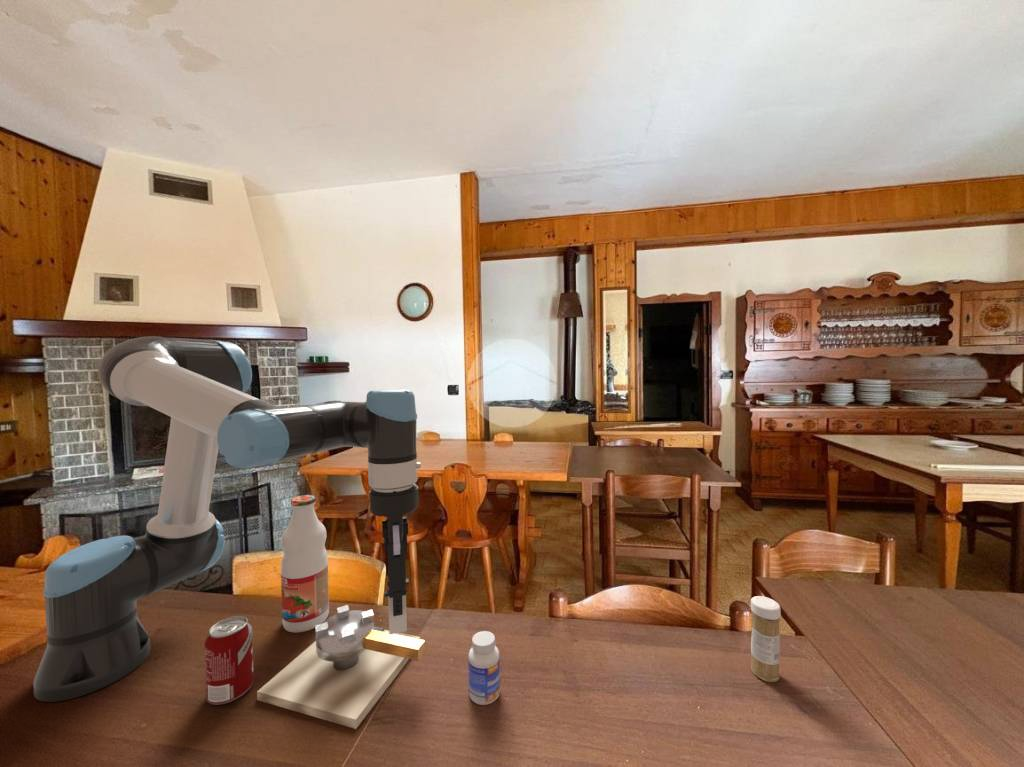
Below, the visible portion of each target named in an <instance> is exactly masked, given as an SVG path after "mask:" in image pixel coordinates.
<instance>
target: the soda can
mask: <svg viewBox="0 0 1024 767" xmlns="http://www.w3.org/2000/svg"><path fill="white" fill-rule="evenodd" d="M253 646H254V643H253V627H252V625H251V624H250V623H249V621H248V618H247V616H243V615H234V616H230V617H227V618H225V619H222V620H219V621H218V622H216V623H215V624H214V625H212V626H211V627H210V629H209V631H208V636H207V637H206V639H205V641H204V667H205V668H204V670H205V692H206V693H205V695H206V701H207V702H208V703H209V704H210V705H214V706H218V705H225V704H229V703H232V702H234V701H236V700H237V699H239V698H241V697H242V696H244V695H245V694H246V693H247V692H248V691H249V690H250V689H251V688H252V686H253V685H254V681H255V679H254V678H255V677H254V676H255V675H254V673H255V672H254V650H253V649H254V647H253Z"/></svg>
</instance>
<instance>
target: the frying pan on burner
mask: <svg viewBox="0 0 1024 767" xmlns="http://www.w3.org/2000/svg"><path fill="white" fill-rule="evenodd" d="M336 612H337V613H336V614H333V615H331V616H330V617H327V619H326V620H325V621H324V622H323V623H322V624H319V625H315V628H314V629H315V641H316V653H317V655H318V657H319V658H321V659H323V660H325V661H332V662H334V661H343V660H347V659H350V658H352V657H355V656H357V655H359V654H360V653H362V652H363V651H365V650H366V649H368V650H372V651H376V652H381V653H385V654H390V655H394V656H399V657H403V658H408V659H409V660H412V661H419V660H420V659H421V657H423V655H424V654H425V652H426V640H424V639H421V638H420V639H415V638H411V637H406V636H401V635H396V634H391V635H389V633H386V632H381V631H377V630H374V626H375V614H374V611H373V609H368V610H360V609H358V610H353V609H352V610H350V607H349V605H348V604H346V605H343V606H342V605H341V606H339V607H337V608H336Z"/></svg>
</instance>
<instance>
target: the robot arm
mask: <svg viewBox="0 0 1024 767" xmlns="http://www.w3.org/2000/svg"><path fill="white" fill-rule="evenodd" d="M97 375H98V379H99V382H100V384H101V385H102V387H103V389H104V390H105V391H106V392H107V393H109V394H110V395H111V396H113V397H115V398H116V399H118V400H120V401H122V402H124V403H125V404H129V405H132V406H136V407H150V408H151V409H153V410H156V411H157V412H160V413H162V414H164V415H166V416H168V417H170V424H169V431H168V438H167V446H166V451H165V452H166V453H165V459H164V467H163V474H162V482H161V488H160V494H159V495H160V496H159V502H158V510H157V515H155V516H153V517H152V518H150V519H149V520H148V522H147V523H146V528H145V534H144V535H143V536H141V537H138V538H133V537H132V536H130V535H115V536H111V537H108V538H100V539H97V540H94V541H90V542H87V543H85V544H82V545H80V546H77V547H75V548H72V549H70V550H69V551H67V552H65V553H63V554H61V555H60V556H58V557H57V558H55V560H54V561H52V562H51V563H50V564H49V565H48V567H47V568H46V570H45V573H44V587H43V590H42V595H43V596H44V601H45V602H44V603H45V622H46V623H45V625H46V644H47V645H46V648H45V650H44V653H43V656H42V657H41V658H42V659H41V661H40V664H39V666H38V668H37V671H36V673H35V676H34V678H33V683H32V685H33V696H34V699H36V700H37V701H39V702H43V703H44V702H46V703H53V702H54V703H56V702H64V701H68V700H71V699H76V698H79V697H82V696H85V695H88V694H91V693H93V692H96V691H98V690H101V689H102V688H105V687H107V686H109V685H111V684H114V683H115V682H117V681H119V680H120V679H123V678H124V677H126V676H127V675H129V674H130V673H132V672H133V671H135V670H136V669H137V668H139V666H140V665H142V664H143V663H144V662H145V661H146V659H147V658H148V657H149V655H150V653H151V639H150V636H149V635H148V632H147V631H146V629H145V627H144V625H143V623H142V622H141V620H140V619H139V616H138V612H137V611H138V610H137V607H138V606H137V604H138V603H137V601H138V600H139V599H142V598H143V597H147V596H149V595H151V594H153V593H156V592H159V591H161V590H163V589H165V588H167V587H171V586H173V585H174V584H177V583H179V582H181V581H184V580H186V579H189V578H193V577H195V576H197V575H199V574H200V573H202V572H204V571H206V570H208V569H210V568H212V567H213V566H214V565H215V564H216V563H217V562H218V561H219V560H220V558H221V557H222V554H223V553H224V552H223V551H224V550H225V549H224V548H225V538H226V537H225V535H224V534H223V533H224V528H223V526H222V524H221V523H220V521H219V520H218V519H217V518H216V517H215V515H214V514H213V512H210V504H211V498H212V492H213V485H214V479H215V472H216V465H217V458H218V454H219V453H220V455H221V456H223V457H224V459H225V460H224V461H226V463H227V464H228V465H230V466H231V467H234V468H237V469H249V468H253V467H254V468H255V467H266V466H270V465H273V464H275V463H279V462H283V461H287V460H291V459H296V458H299V457H304V456H309V455H313V454H318V453H321V452H325V451H330V450H335V449H339V448H344V447H346V448H347V447H348V448H349V447H351V448H353V447H354V448H367V473H368V475H367V476H368V477H367V478H368V486H369V487H370V490H369V491H368V492H369V493H368V494H369V495H368V497H369V498H368V499H369V512H370V513H371V515H374V516H377V517H385V519H382V520H381V525H382V526H381V530H382V532H381V533H382V538H383V542H384V554H385V555H386V556H387V566H388V567H387V571H388V572H387V578H388V582H387V586H388V589H387V590H384V592H383V597H384V598H387V599H388V602H387V603H388V630H389V635H391V634H396V633H404V632H405V633H406V632H407V630H408V626H407V625H408V622H407V621H408V620H407V619H408V617H407V591H408V590H407V586H406V585H410V580H409V578H406V576H407V575H406V552H407V551H408V535H409V522H408V517H407V516H405V515H406V514H411V513H412V512H414V511H415V510H416V509H417V508H418V507H419V486H418V485H417V484H416V483H417V481H418V469H421V467H422V463H421V462H418V458H417V457H418V452H417V420H418V414H417V409H416V398H415V394H414V392H413V391H411V390H410V389H401V388H400V389H398V388H397V389H375V390H369V391H368V392H367V393H366V398H365V399H366V401H341V400H328V401H322V402H321V401H320V402H318V403H316V404H314V403H313V404H306V405H291V406H278V405H276V404H272V403H270V402H268V401H265V400H262V399H260V398H257V397H255V396H254V395H253V396H252V395H250V394H248V393H247V390H249V389H250V388H251V385H252V380H253V370H252V366H251V362H250V360H249V358H248V356H247V354H246V353H245V351H244V350H243V349H242V348H241V347H240V346H239V345H237V344H236V343H233V342H230V341H223V340H222V341H221V340H216V339H212V338H211V339H203V338H201V339H200V338H185V337H182V338H180V337H164V336H152V335H150V336H149V335H148V336H139V337H135V338H130V339H128V340H127V339H126V340H125V341H122V342H119V343H117V344H115V345H114V346H113V347H111V348H110V349H109V350H107V351H106V352H105V353H104V354H103V356H102V357H101V359H100V361H99V364H98V368H97Z"/></svg>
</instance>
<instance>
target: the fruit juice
mask: <svg viewBox="0 0 1024 767" xmlns="http://www.w3.org/2000/svg"><path fill="white" fill-rule="evenodd" d="M315 505H316V495H312V494H305V495H298V496H296V497H293V498H291V499H290V508H291V509H292V512H291V517H290V520H289V523H288V525H287V526H286V527H285V529H284V530H283V532H282V534H281V538H280V545H281V549H282V552H283V556H282V557H281V562H280V580H281V581H280V583H281V584H280V586H281V590H280V591H281V619H282V620H281V622H282V626H283V628H284V631H287V632H290V633H304V632H308V631H311V630H313V629H315V625H319V624H322V623H323V622H324V621H325V620H327V619H328V618H329V617H328V616H329V612H330V599H329V598H330V595H329V592H330V590H329V589H330V588H329V556H328V551H327V549H326V546H325V544H326V540H327V537H328V536H327V529H326V527H325V525H324V524H323V523H322V521H320V520H319V518H318V515H317V512H316V510H315Z"/></svg>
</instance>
